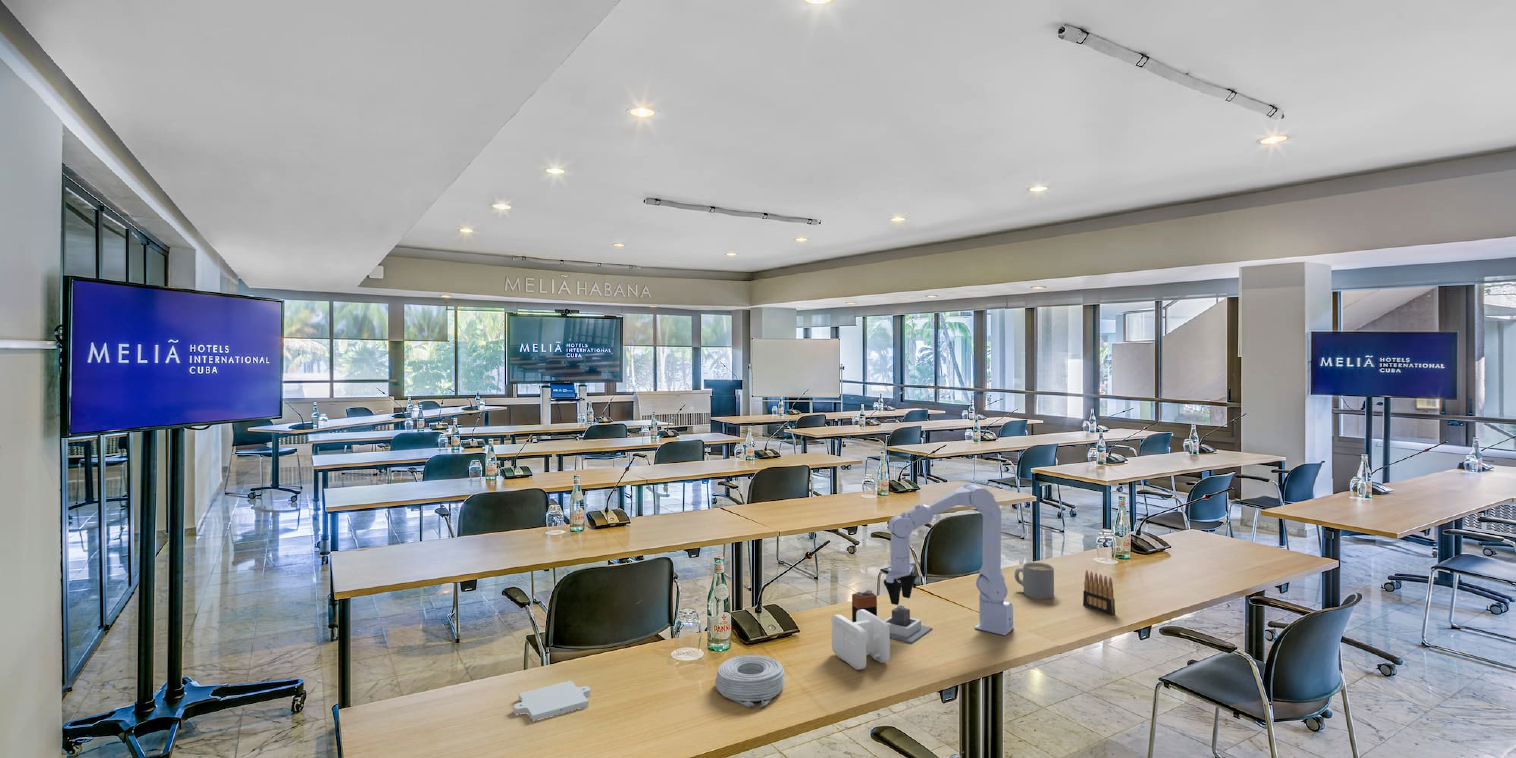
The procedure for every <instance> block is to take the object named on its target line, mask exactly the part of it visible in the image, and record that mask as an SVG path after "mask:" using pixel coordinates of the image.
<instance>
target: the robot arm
mask: <svg viewBox="0 0 1516 758" xmlns="http://www.w3.org/2000/svg"><path fill="white" fill-rule="evenodd" d="M956 506H962V507H971V506H972V507H974V508H975V509H976V511H978V512H979V513H980V514H981V515H982V565H981V567H980V568H979V571H978V573H979V574H978V576H977V579H976V582H975V585H976V588H977V590H978V591H979V593H980V594H979V596H978V597H979V598H978V600H979V603H978V604H979V605H978V606H979V612H978V613H979V623H978V624H977V625H975V626H974V629H976V630H980V631H984V632H989V633H993V634H998V635H1003V636H1007V635H1008V634H1009V633H1010V632H1011V631H1012V630H1013V629H1015V626H1014V606H1013V603H1012V602H1010V601H1007V600H1005V599H1006V598H1007V596H1008V587H1007V585H1006V583H1005V581H1006V580H1005V576H1004V573H1003V571H1002V566H1001V562H1002V556H1001V555H1002V510H1001V508H1000V506H999V504H998V502H997V501H996V498H995V495H994V494H993V493H991V492H990V491H989V490H988V489H986V488H984V487H980V486H979V485H976V484H974V483H967V484H965V485H963V486H960V487H958V488H956V489H955V490H953V491H952V492H949V493H948V494H947V495H944V496H943V497H941V498H939V499H937V500H935V501H934V502H932V503H930V504H929V505H927V504H924V503H922V504H920V503H919V504H918V503H917V504H915V505H914V508H912V509H909V510H908V511H906V512H905V511H902V512H901V513H900V514H901V515H893V516H892V517H891V518H890V520H889V521H888V524H887V527H888V530H889V531H890V540H889V541H890V567H889V568H887V572H888V573H887V575H886V576H885V579H883V584H884V586H885V589H886V590H887V592H888V596H889V600H890V605H894V606H895V605H896V606H897V605H900V595H902V598H906V599H910V598H911V595H912V591H913V586H914V584H915V581H916V579H917V578H918V574H916V573H915V565H912V564H911V557H910V556H911V553H910V552H911V547H910V546H911V545H910V536H911V534H912V533H913V531H915V530H917V529H919V528H921V527H924V526H925V525H927V524H929V523H931V522H932V521H933V520H934V517H935V516H936V515H938V514H940V513H942V512H945V511H947V510H949V509H951V508H954V507H956ZM898 579H899V580H898ZM899 581H900V582H899Z"/></svg>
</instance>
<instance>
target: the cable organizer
mask: <svg viewBox="0 0 1516 758" xmlns="http://www.w3.org/2000/svg"><path fill="white" fill-rule="evenodd" d="M890 639H891V638H890V629H889V625H888V624H887V622H886V621H885V619H882V618H881V617H879V616H878V615H877V616H875V615H874V614H872V613H870V612H868V611H866V610H864V609H861V610H858V611H857V612H856V622H852V620H851V619H849V618H847V617H845V616H843V615H841V614H833V615H832V617H831V648H832V651H833V653H834V654H835V655H836V656H837V657H838V658H839V659H840V658H841V659H840V660H842V661H844V662H845V663H847V664H848V665H850V666H851V668H854V669H855V670H858V671H860V670H864V669H866V668H867V656H870V657H872V658H873V661H874V660H875V661H877V662H878V663H880V664H884V663H888V662H889V661H890V659H891V648H890V647H891V646H890V645H891V644H890V642H891V641H890Z"/></svg>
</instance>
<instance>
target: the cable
mask: <svg viewBox="0 0 1516 758" xmlns="http://www.w3.org/2000/svg"><path fill="white" fill-rule="evenodd" d="M785 675H786V674H785V669H784V666H783V665H782V664H781V663H780V662H779V661H778V660H776V659H774V658H772V657H770V656H766V655H759V654H744V655H736V656H733V657H731V658H728V659H725V661H724V662H722V663H721V664H720V665H719V666H718V668H717V671H716V677H715V681H714V685H715V688H716V690H717V691H718V692H719V694H721V695H722V696H723V697H725V698H727V699H729V700H731V701H734V702H735V703H739V704H741V705H742V706H744V707H747V708H751V707H754V706H755V703H754V702H760V701H761V702H760V705H759V707H760V708H759V709H762V708H763V707H764V708H765V706H767V705H768V704H769V703H770V701H771V700H772V699H773V698H774V697H776V696H777V695H779V694H780V693H781V692H782V690H783V688H784V686H785V681H786V680H785Z"/></svg>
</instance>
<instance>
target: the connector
mask: <svg viewBox="0 0 1516 758" xmlns="http://www.w3.org/2000/svg"><path fill="white" fill-rule="evenodd" d="M891 616H892V624H895V625H899V626H903V627H907V626H909V625H910V618H911V609H910V608H905V606H904V605H900V604H898V605H896V607H895V608H893V609H891Z"/></svg>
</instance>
